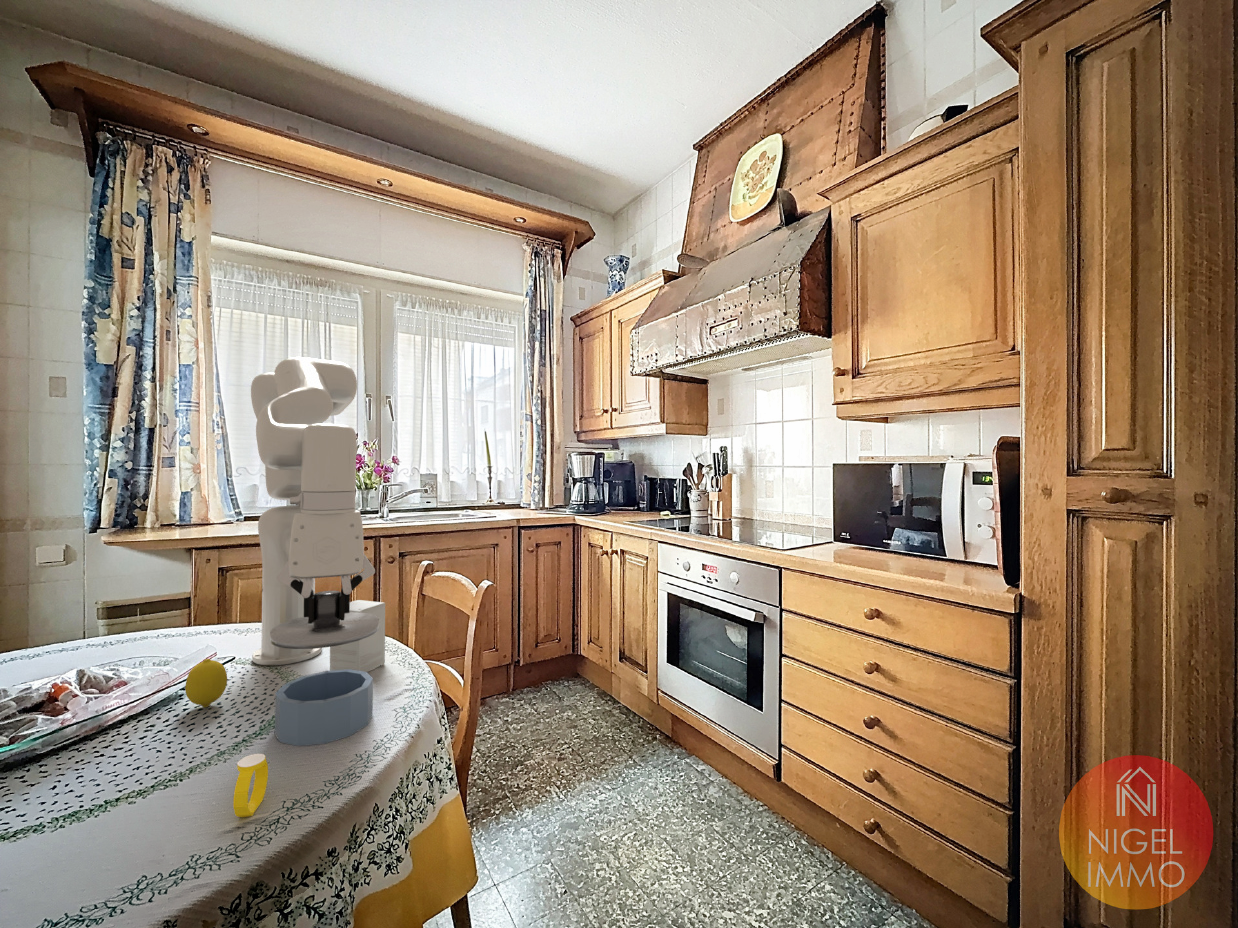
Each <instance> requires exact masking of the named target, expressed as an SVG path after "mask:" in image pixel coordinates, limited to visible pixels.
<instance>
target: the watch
mask: <svg viewBox="0 0 1238 928" xmlns="http://www.w3.org/2000/svg"><path fill="white" fill-rule="evenodd" d="M267 761H268V760H267V757H266V755H265V754H263V753H252V754H249V755H246V756H244V757H242V758H241V759H240V760H238V761H237V766H236V769H237V771H238V772H239V774H238V776H237V780H236V781H235V782H236V783H235V787H234V792H233V793H234V794H233V812H234V815H235V816H236V817H237V818H239V817H241V818H246V817H247V818H249V817H253V816H255V815H254V814H255V812H256V811H257V809H258V808H259V807H260V805H261V804H262V802H263V801H264V798H265V794H266V790H267V787H268V786H267V785H268V780H269V764H268V762H267ZM253 775H254V782H253V788H252V792H251V795H250V798H249V791H250V786H251V782H252V781H251V780H252V778H253Z"/></svg>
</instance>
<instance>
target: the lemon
mask: <svg viewBox="0 0 1238 928" xmlns="http://www.w3.org/2000/svg"><path fill="white" fill-rule="evenodd" d="M227 674H228V673H227V670H226V668H225V666H224V664H222V663H221V662H219V661H217V660H212V659H211V658H205V659H204V660H203V661H201V662H199V663H197V664H196V665H194V666H193V667H192V668H191V670H190V671H189V672H188V674H187V677H186V680H185V684H184V685H185V695H186V697H187V699H188V700H189V702H191V703H192V704H194V705H200V706H201V707H203V708H208V707H210V706H211V704H212V703H214V702H216V701H217V700H218V699H220V698H221V696H223V694H224V692H225V690H226V689H227V684H228V675H227Z"/></svg>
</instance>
